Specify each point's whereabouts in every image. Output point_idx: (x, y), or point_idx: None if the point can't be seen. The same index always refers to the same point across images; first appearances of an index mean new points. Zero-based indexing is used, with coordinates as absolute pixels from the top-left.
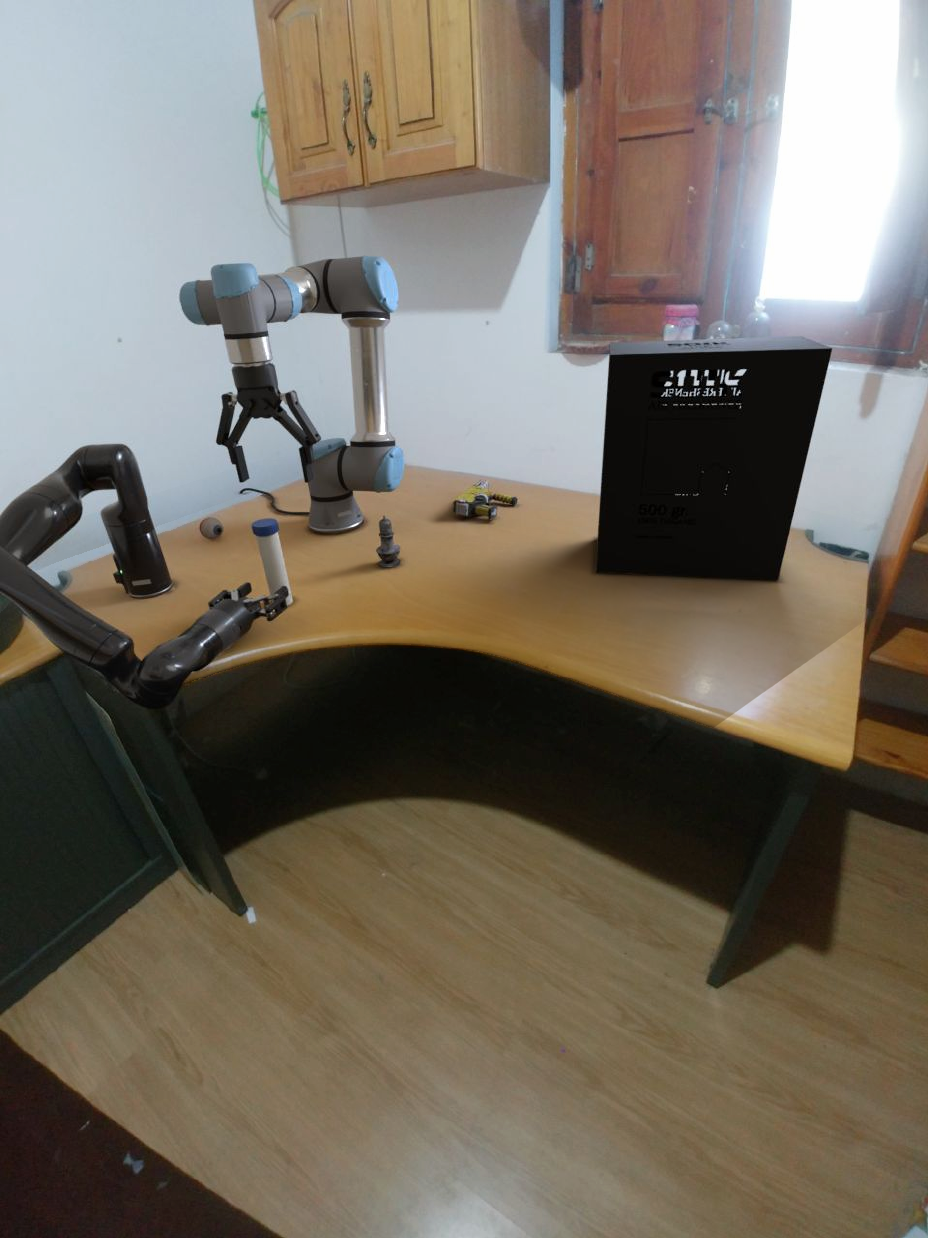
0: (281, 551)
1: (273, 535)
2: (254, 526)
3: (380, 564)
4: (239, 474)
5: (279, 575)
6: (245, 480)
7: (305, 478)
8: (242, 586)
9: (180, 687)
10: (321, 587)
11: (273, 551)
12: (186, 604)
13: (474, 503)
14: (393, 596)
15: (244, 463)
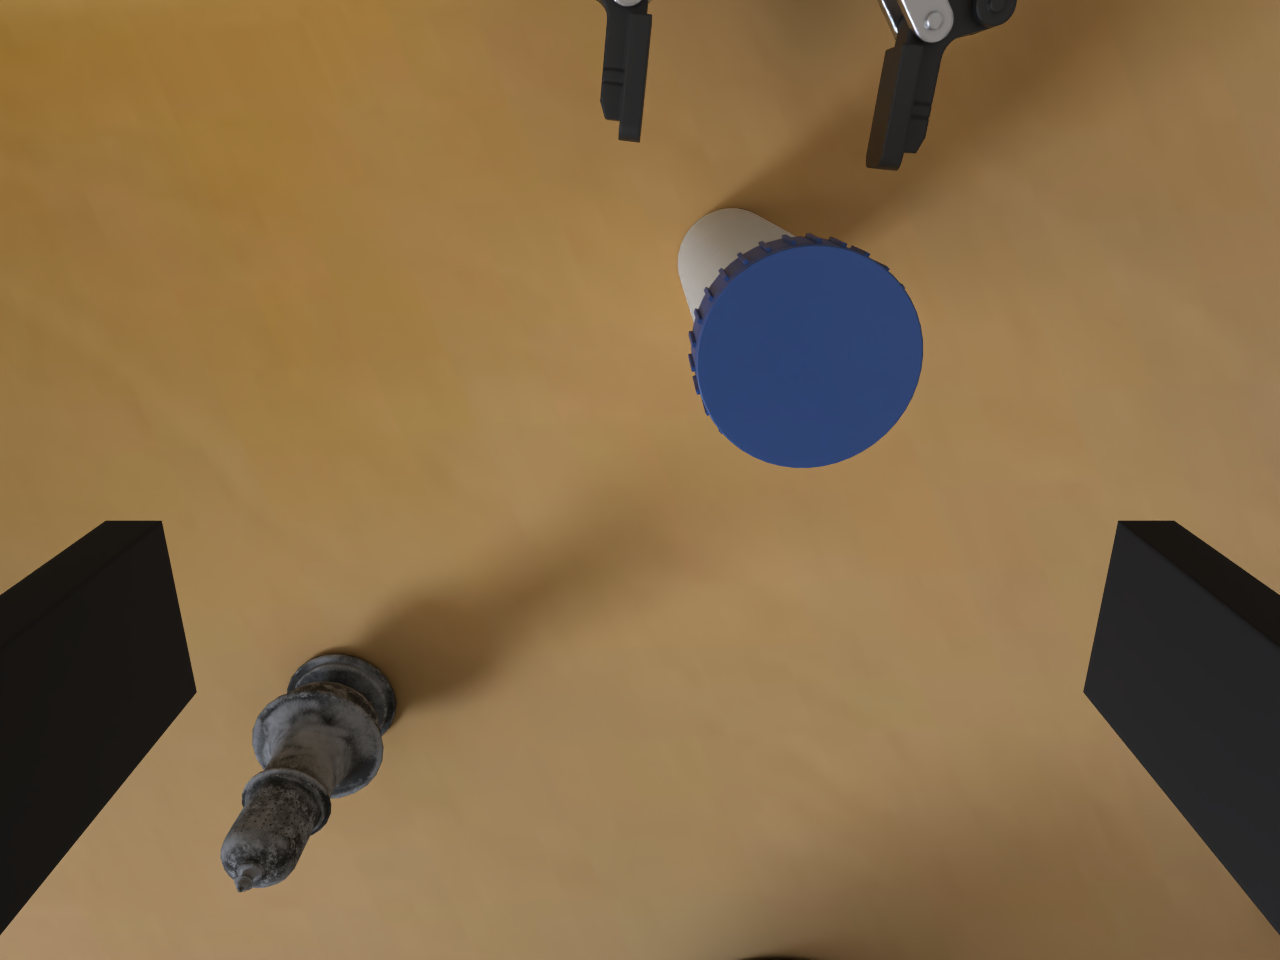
0: None
1: None
2: (867, 260)
3: (376, 675)
4: (1217, 574)
5: (706, 242)
6: (1106, 589)
7: (107, 543)
8: (902, 94)
9: None
10: (588, 438)
11: (723, 259)
12: (1267, 203)
13: None
14: (174, 369)
15: (1225, 807)
